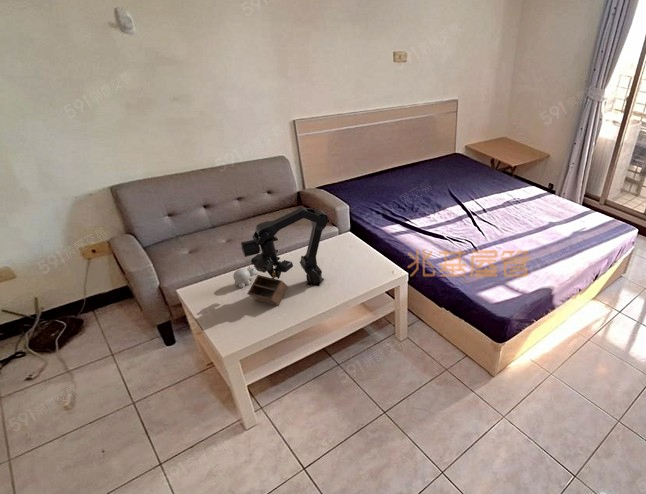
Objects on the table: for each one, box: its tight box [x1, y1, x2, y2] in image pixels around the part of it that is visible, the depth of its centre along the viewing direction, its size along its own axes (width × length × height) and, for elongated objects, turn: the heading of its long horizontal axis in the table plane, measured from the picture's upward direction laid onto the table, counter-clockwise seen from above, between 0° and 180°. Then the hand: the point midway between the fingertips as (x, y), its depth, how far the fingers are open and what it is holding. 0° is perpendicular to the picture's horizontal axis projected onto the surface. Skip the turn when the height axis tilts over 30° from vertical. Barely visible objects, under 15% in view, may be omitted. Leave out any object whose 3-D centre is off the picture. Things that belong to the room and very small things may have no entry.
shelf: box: [246, 271, 289, 306], centre depth 193 cm, size 14×13×7 cm
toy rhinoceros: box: [232, 265, 259, 289], centre depth 204 cm, size 7×12×8 cm, turn 144°
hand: (275, 277), depth 196 cm, fingers closed on shelf, 3 cm apart
